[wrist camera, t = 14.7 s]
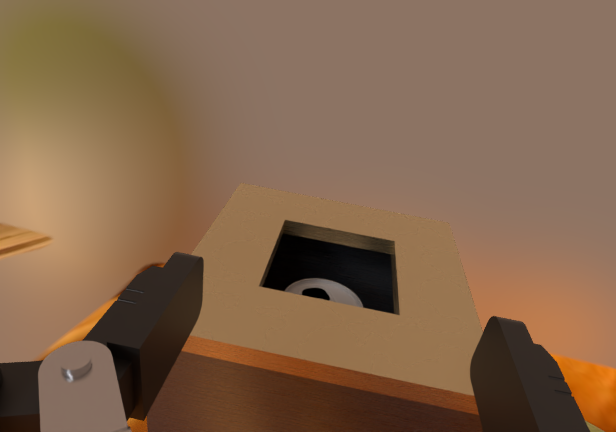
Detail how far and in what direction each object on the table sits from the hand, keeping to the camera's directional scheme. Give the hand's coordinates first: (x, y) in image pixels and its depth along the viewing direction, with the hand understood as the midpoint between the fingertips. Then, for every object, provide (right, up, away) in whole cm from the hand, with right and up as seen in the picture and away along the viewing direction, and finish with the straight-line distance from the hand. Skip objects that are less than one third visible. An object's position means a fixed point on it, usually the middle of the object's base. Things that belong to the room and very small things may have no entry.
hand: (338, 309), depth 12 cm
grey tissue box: (-1, -13, +19) cm, 23 cm away
